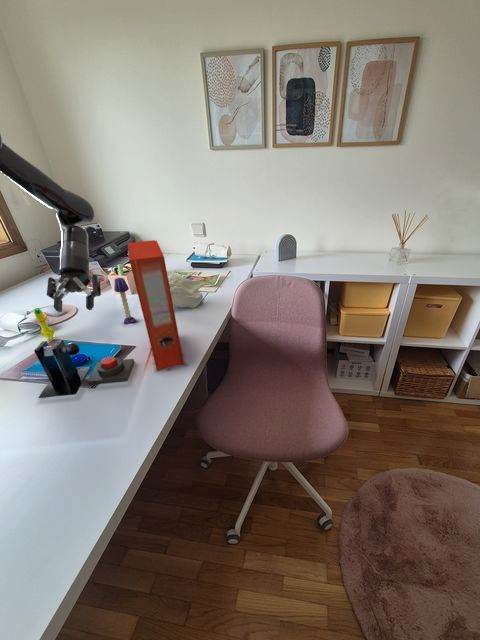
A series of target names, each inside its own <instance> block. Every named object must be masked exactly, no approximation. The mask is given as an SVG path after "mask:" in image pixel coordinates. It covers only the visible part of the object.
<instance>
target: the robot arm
mask: <svg viewBox="0 0 480 640" xmlns="http://www.w3.org/2000/svg"><path fill="white" fill-rule="evenodd" d="M0 173H1V174H3V175H4V176H6V177H7V178H8V179H9V180H11V181H12V182H13V183H15V184H16V185H17V186H19V187H20V188H21V189H23V190H24V191H25V192H26V193H28V194H29V195H31V196H32V197H33V198H34V199H36V200H37V201H39V202H40V203H42V204H43V205H45V206H46V207H48V208H49V209H52V210H55V213H56V215H55V216H56V218H57V221H58V224H59V228H60V231H61V247H60V254H59V274H60V276H59V278H54V277H51V276H50V277H48V279H47V287H46V296H47V297H49V298H50V299H52V300H53V309H54V310H55V311H56V312H58V313H62V312H63V299H64V298H65V297H66V296H68V295H69V294H71V293H72V294H73V293H82V292H84V293H85V295H86V296H85V308H86V309H87V310H88V311H92V310H93V309H94V306H95V298H96V297H101V295H102V291H101V279H100V277H98V276H97V275H96V274H93V275H92V276H89V275H90V252H89V233H88V232H87V230H86V229H85V228H83V227H82V226H79V225H85V224H89V223H92V222H93V221H94V220H95V218H96V212H95V210H94V207H93V205H92V204H91V203H90V202H89V201H88V200H87V199H85V198H84V197H83V196H81V195H79V194H77V193H75V192H72V191H71V190H68V189H66V188H64V187H62V186H61V185H60V184H59V183H58V182H57V181H55V180H54V179H53V178H52V177H50V176H49V175H48V174H46V172H44V171H42V169H40V168H38V167H37V166H36V165H34V164H32V163H31V162H30V161H28V160H27V159H26V158H24V157H23V156H21V155H20V154H18V153H17V152H15V151H14V150H13V149H12V148H11V147H9V146H8V145H7V144H6V143H4V142H3V138H2V134H1V132H0ZM90 283H91V284H92V290H91V289H90V288H89V287H88V285H89V284H90ZM59 284H60V285H59Z"/></svg>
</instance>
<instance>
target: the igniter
mask: <svg viewBox="0 0 480 640" xmlns="http://www.w3.org/2000/svg"><path fill="white" fill-rule="evenodd" d="M115 358H116V357H114V356H106V357H104V358H102V359H101V360H100V362H101V364H102V367H103V368H104V369H110V368H113V367H115V366H116V365H117V363H116V360H115Z"/></svg>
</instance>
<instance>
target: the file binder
mask: <svg viewBox="0 0 480 640" xmlns="http://www.w3.org/2000/svg"><path fill="white" fill-rule="evenodd" d="M127 251H128V260H129V261H128V262H129V265H130V269H131V273H132V276H133V279H134V285H135V288H136V292H137V296H138V300H139V304H140V309H141V312H142V316H143V320H144V324H145V328H146V333H147V336H148V341H149V344H150V348H151V352H152V357H153V361H154V364H155V368H156V370H157V371H161V370H166V369H170V368H173V367H177V366H183V365H184V364H185V363H184V356H183V351H182V346H181V340H180V335H179V329H178V325H177V319H176V314H175V308H174V305H173V302H172V297H171V292H170V286H169V281H168V278H169V275H168V271H167V264H166V261H165V260H166V259H165V255H164V254H163V252H162V249H161V247H160V245H159V243H158V240H154V239H153V240H143V241H132V242H127Z"/></svg>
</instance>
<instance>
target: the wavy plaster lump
mask: <svg viewBox="0 0 480 640" xmlns="http://www.w3.org/2000/svg"><path fill="white" fill-rule="evenodd" d="M168 281H169V286H170V292H171V297H172V302H173V306H177V307H180V308H191V309H194V308H197V307H198V306H200V304H201V302H202V300H203V292H201V291H199V290H200V289H201V288H203V287H204V286H205V284H206V283H205V282H204V281H201V280H198V279H197V278H194V279H192V280H191V279H189V278H186V277H184V276H179V275H171V276H169V277H168Z"/></svg>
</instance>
